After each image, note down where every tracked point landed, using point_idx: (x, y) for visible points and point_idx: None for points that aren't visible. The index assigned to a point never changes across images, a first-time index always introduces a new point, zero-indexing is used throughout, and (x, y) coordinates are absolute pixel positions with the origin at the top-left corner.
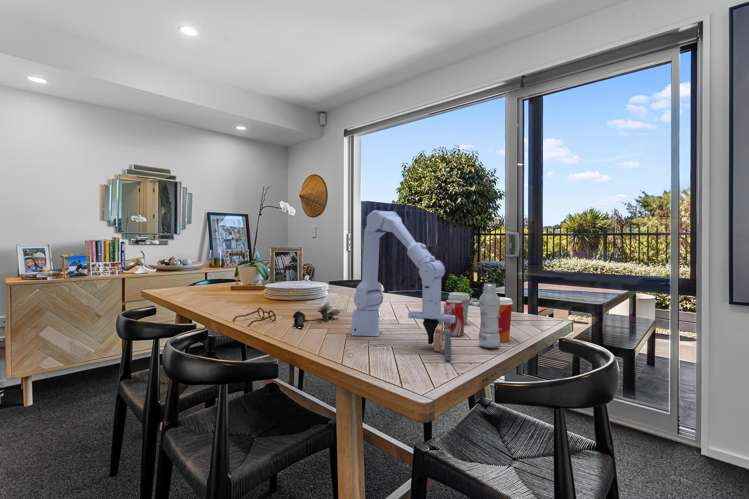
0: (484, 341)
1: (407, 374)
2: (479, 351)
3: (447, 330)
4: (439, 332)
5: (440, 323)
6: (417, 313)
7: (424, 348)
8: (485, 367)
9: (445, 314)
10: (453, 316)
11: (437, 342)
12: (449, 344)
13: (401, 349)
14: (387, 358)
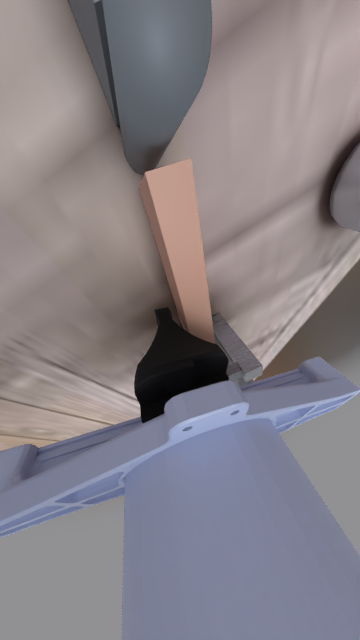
0: (356, 229)
1: None
2: (300, 257)
3: (254, 377)
4: None
5: (170, 134)
6: (84, 492)
7: (144, 321)
8: (281, 344)
9: (307, 405)
10: (339, 403)
11: None
12: None
13: (93, 361)
14: (116, 403)
